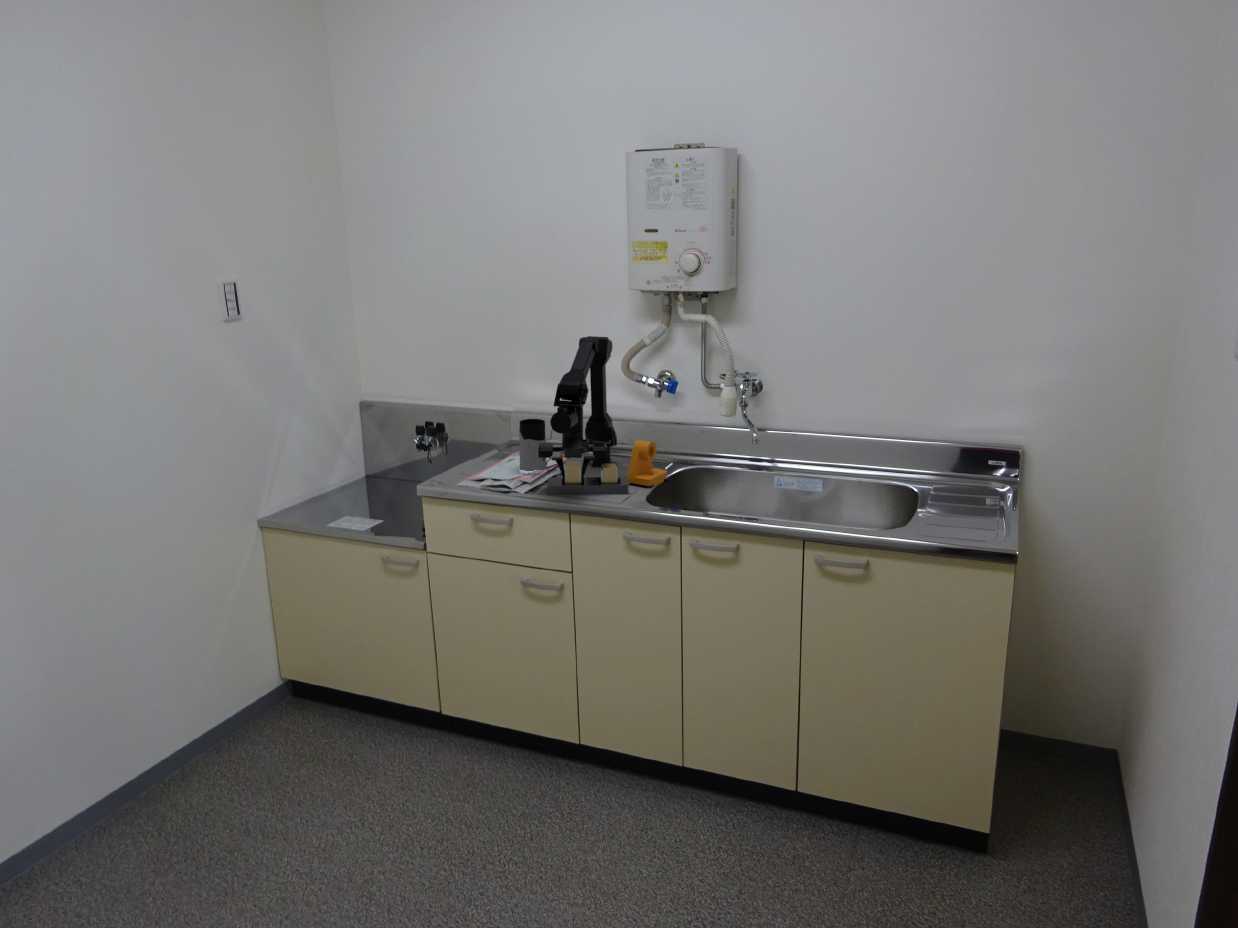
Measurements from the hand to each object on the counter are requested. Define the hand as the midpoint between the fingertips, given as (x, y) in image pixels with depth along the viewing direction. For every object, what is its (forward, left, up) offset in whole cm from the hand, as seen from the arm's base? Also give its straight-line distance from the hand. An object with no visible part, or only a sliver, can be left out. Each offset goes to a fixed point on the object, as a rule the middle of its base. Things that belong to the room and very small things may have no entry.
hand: (573, 480), depth 241 cm
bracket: (-7, +21, -3) cm, 23 cm away
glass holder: (-20, -9, -3) cm, 22 cm away
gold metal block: (0, 0, -2) cm, 2 cm away
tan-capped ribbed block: (0, +10, -3) cm, 10 cm away
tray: (0, +4, -3) cm, 5 cm away
